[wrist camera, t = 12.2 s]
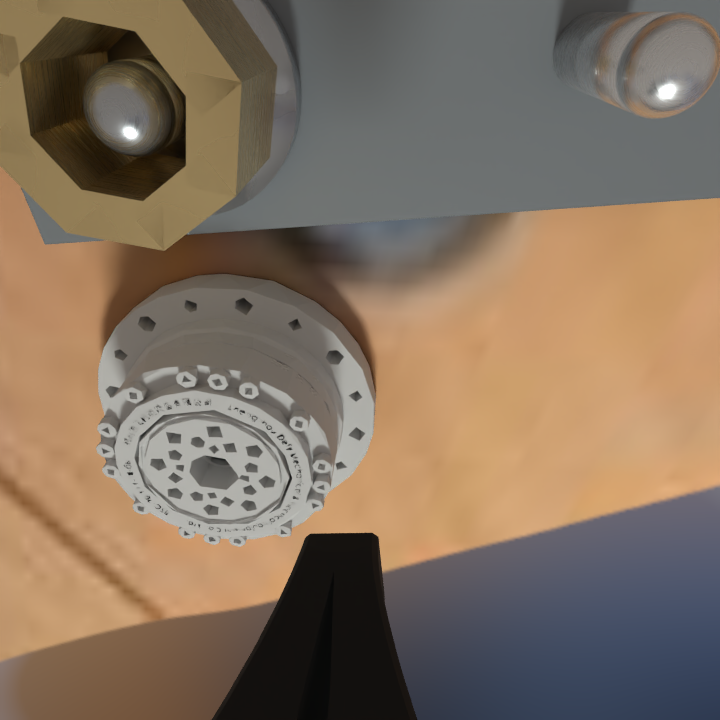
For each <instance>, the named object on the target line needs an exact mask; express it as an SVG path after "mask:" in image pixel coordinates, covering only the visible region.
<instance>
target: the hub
mask: <svg viewBox="0 0 720 720" xmlns="http://www.w3.org/2000/svg"><path fill="white" fill-rule="evenodd" d="M233 2H234V3H235V5H236V6H237V8H238V9H239V11H240V12H241V13H242V15H243V16H244V18H245V19H246V21H247V22H248V24H249V25H250V27H251V28H252V30H253V31H254V33H255V34H256V35H257V37H258V38H259V40H260V41H261V43H262V44H263V46H264V47H265V49H266V50H267V52H268V53H269V55H270V56H271V57H272V59H273V60H274V62H275V63H276V65H277V66H278V67H277V79H276V91H275V103H274V115H273V128H272V140H271V152H270V158H269V159H268V160H267V161H266V163H265V164H264V165H263V166H262V167H261V168H260V169H259V171H258V172H257V173H256V174H255V175H254V176H253V177H252V179H251V180H250V181H249V182H248V183H247V184H246V185H245V187H244V188H243V189H242V190H241V191H240V192H239V194H238V195H237V196H236V197H234V198H233V199H232V200H230V201H229V202H228V203H226V204H225V205H224V206H223V207H221V208H220V209H219V210H217V211H216V212H215V213H213V214H212V215H217V214H220V213H224V212H227V211H230V210H233V209H235V208H237V207H239V206H241V205H243V204H245V203H246V202H248V201H249V200H251V199H253V198H254V197H255V196H256V195H257V194H259V193H260V192H261V191H262V190H263V189H264V188H265V187H266V186H267V185H268V184H269V182H270V181H271V180H272V179H273V178H274V176H275V175H276V174H277V172H278V171H279V170H280V168H281V167H282V165H283V164H284V162H285V160H286V159H287V157H288V155H289V153H290V151H291V149H292V146H293V144H294V142H295V138H296V135H297V132H298V128H299V122H300V116H301V103H302V92H301V79H300V74H299V68H298V63H297V59H296V56H295V53H294V50H293V46H292V43H291V41H290V39H289V37H288V34H287V32H286V30H285V27H284V26H283V24H282V22H281V20H280V19H279V17H278V15H277V13H276V12H275V10H274V9H273V7H272V6H271V5H270V3H269V2H268V1H267V0H233ZM107 58H108V63H105V64H103V65H102V66H100V67H99V68H97V69H96V70H95V71H94V72H93V73H92V74H91V75H90V77H89V79H88V80H87V83H86V85H85V88H84V92H83V108H84V113H85V117H86V119H87V122H88V124H89V126H90V128H91V129H92V131H93V132H94V134H95V135H96V136H97V137H98V138H99V139H100V140H101V141H102V142H103V143H104V144H105V145H107V146H108V147H109V148H111V149H112V150H114V151H116V152H119V153H121V154H124V155H128V156H134V157H143V156H149V155H152V154H160V155H166V156H171V157H176V158H181V159H186V96H185V95H184V93H183V92H182V91H181V89H180V88H179V87H178V86H177V84H176V83H175V82H174V80H173V79H172V78H171V77H170V75H169V74H168V73H167V71H166V70H165V69H164V68H163V66H162V65H161V64H160V62H159V61H158V60H157V59H156V57H155V56H154V55H153V53H152V52H151V51H150V50H149V48H148V47H147V46H146V44H145V43H144V42H143V41H142V39H141V38H140V37H139V35H138V34H137V33H136V32H135V31H131V30H128V31H127V32H126V33H125V34H124V35H123V36H122V37H121V38H120V39H119V40H118V41H117V42H116V43H115V44H114V45H113V46H112V47H111V48H110V49H109V50H108V51H107Z"/></svg>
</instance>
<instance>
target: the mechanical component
mask: <svg viewBox="0 0 720 720" xmlns="http://www.w3.org/2000/svg"><path fill="white" fill-rule="evenodd" d="M98 388H99V396H100V400H101V403H102V407H103V410H104V414H105V416H104V418H103V419H102V420H101V422H100V423H99V425H98V431H99V433H100V434H101V442H100V443H99V445H98V446H97V447H96V449H97V453H98V454H100V455H101V456H102V457H105V459H106V464H105V465H104V467H103V468H102V470H103V473H104V474H105V475H106V476H108V477H110V478H113V479H115V480H116V481H117V482H118V483H119V484H120V486H121V487H122V488H123V489H124V490H125V492H126V493H127V494H128V495H129V496H130V497H131V498H132V499H133V500H134V501H135V502H134V504H133V509H134V511H135V512H137V513H140V514H148V513H149V512H150V513H151V514H153V515H155V516H157V517H158V518H160V519H162V520H164V521H166V522H167V523H169V524H172V525H175V526H178V527H179V534H180V535H181V536H182V537H184V538H188V539H189V538H193V537H194V535H195V533H197V534H202V535H204V540H205V542H207V543H210V544H213V545H215V544H217V543H219V542H220V539H229V541H230V543H231V544H232V545H235V546H238V547H240V546H242V545H245V543H246V540H247V539H257V538H261V537H266V536H270V535H275V534H277V535H279V536H280V537H286V536H291V531H292V528H293V527H295V526H297V525H299V524H301V523H303V522H304V521H305V520H306V519H308V518H309V517H310V516H311V515H312V514H313V513H314V512H315V511H320V510H321V509H322V508H323V507H324V499H325V497H326V495H327V494H328V492H330V491H331V490H332V489H334V488H335V487H336V486H337V485H339V484H340V483H341V482H343V481H344V480H345V479H347V478H348V477H349V476H351V475H352V473H353V472H354V470H355V469H356V467H357V466H358V465H359V463H360V462H361V460H362V459H363V457H364V456H365V454H366V453H367V450H368V447H369V444H370V441H371V438H372V435H373V430H374V416H375V401H376V393H375V389H374V384H373V380H372V375H371V371H370V366H369V364H368V362H367V360H366V358H365V356H364V354H363V352H362V350H361V348H360V346H359V344H358V343H357V341H356V340H355V339H354V338H353V337H352V335H351V334H350V333H349V332H348V330H347V329H346V328H345V327H344V326H343V324H342V323H341V322H340V321H339V320H338V319H336V318H335V317H334V316H333V315H331V314H330V313H329V312H328V311H326V310H325V309H324V308H323V307H321V306H320V305H319V304H318V303H316V302H315V301H313V300H311V299H309V298H307V297H305V296H303V295H301V294H299V293H297V292H295V291H293V290H291V289H289V288H287V287H285V286H283V285H281V284H279V283H277V282H275V281H271V280H264V279H258V278H251V277H244V276H238V275H231V274H213V275H198V276H194V277H191V278H188V279H184V280H181V281H178V282H175V283H171V284H168V285H165V286H162V287H161V288H160V289H158V290H157V291H156V292H154V293H153V294H152V295H150V296H149V297H148V298H146V299H145V300H144V301H142V302H141V303H140V304H138V305H137V306H136V307H134V308H133V309H132V310H131V311H130V312H129V313H128V314H127V316H126V317H125V318H124V319H123V320H122V321H121V322H120V323H119V324H118V325H117V326H116V327H115V329H114V331H113V333H112V334H111V336H110V338H109V340H108V342H107V343H106V345H105V347H104V349H103V353H102V357H101V361H100V365H99V369H98Z"/></svg>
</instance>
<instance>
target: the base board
mask: <svg viewBox="0 0 720 720" xmlns="http://www.w3.org/2000/svg"><path fill="white" fill-rule="evenodd" d="M267 1H268V2H269V3H270V5H271V6H272V7H273V9H274V10H275V12H276V13H277V15H278V17H279V19H280V20H281V22H282V24H283V26H284V27H285V30H286V32H287V34H288V37H289V39H290V41H291V43H292V46H293V50H294V53H295V56H296V59H297V63H298V68H299V74H300V79H301V92H302V103H301V116H300V122H299V128H298V132H297V135H296V138H295V142H294V144H293V146H292V149H291V151H290V153H289V155H288V157H287V159H286V160H285V162H284V164H283V165H282V167H281V168H280V170H279V171H278V172H277V174H276V175H275V176H274V178H273V179H272V180H271V181H270V182H269V184H268V185H267V186H266V187H265V188H264V189H263V190H262V191H261V192H260V193H259V194H257V195H256V196H255V197H254V198H253V199H251V200H249V201H248V202H246V203H245V204H243V205H241V206H239V207H237V208H235V209H233V210H230V211H227V212H224V213H220V214H217V215H211V216H209V217H208V218H207V219H206V220H204V221H203V222H202V223H200V224H199V225H198V226H196V227H195V228H194V229H192V230H191V231H190V232H188V233H187V234H186V235H189V234H204V233H218V232H233V231H247V230H261V229H276V228H290V227H305V226H319V225H334V224H348V223H362V222H377V221H391V220H406V219H420V218H435V217H449V216H464V215H478V214H492V213H507V212H521V211H536V210H550V209H565V208H579V207H594V206H608V205H622V204H637V203H651V202H666V201H680V200H695V199H709V198H720V68H719V71H718V74H717V76H716V79H715V80H714V82H713V84H712V86H711V87H710V89H709V90H708V91H707V92H706V94H705V95H704V96H703V97H702V98H701V99H700V100H699V101H698V102H697V103H695V104H694V105H693V106H692V107H690V108H689V109H687V110H685V111H683V112H681V113H679V114H677V115H674V116H671V117H667V118H661V119H649V118H644V117H640V116H637V115H635V114H633V113H630V112H628V111H626V110H623V109H621V108H618V107H616V106H614V105H611V104H609V103H607V102H604V101H602V100H600V99H597V98H595V97H593V96H590V95H588V94H586V93H583V92H581V91H579V90H576V89H574V88H572V87H569V86H567V85H566V84H564V83H563V82H562V81H561V80H560V79H559V78H558V76H557V75H556V73H555V70H554V66H553V50H554V46H555V43H556V41H557V39H558V37H559V35H560V33H561V32H562V30H563V29H564V28H565V27H566V26H567V25H568V24H569V23H570V22H571V21H572V20H573V19H575V18H577V17H578V16H580V15H582V14H586V13H590V12H688V13H693V14H696V15H699V16H701V17H703V18H704V19H706V20H707V21H708V22H709V23H710V24H711V25H712V26H713V27H714V28H715V30H716V32H717V33H718V36H719V38H720V0H267ZM21 188H22V187H21ZM22 191H23V193H24V196H25V198H26V200H27V203H28V205H29V208H30V210H31V212H32V215H33V217H34V219H35V222H36V224H37V227H38V229H39V231H40V234H41V236H42V239H43V241H44V243H45V244H59V243H74V242H88V241H103V239H97V238H92V237H87V236H81V235H76V234H71V233H66V232H65V231H64V230H63V229H62V228H61V227H60V226H59V225H58V224H57V223H56V222H55V221H54V220H53V219H52V218H51V217H50V216H49V215H48V214H47V213H46V212H45V211H44V210H43V209H42V208H41V207H40V206H39V205H38V204H37V203H36V202H35V201H34V199H33V198H32V197H31V196H30V195H29V194H28V193H27V192H26V191H25V190H24V189H23V188H22Z"/></svg>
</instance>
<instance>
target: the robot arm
mask: <svg viewBox="0 0 720 720" xmlns="http://www.w3.org/2000/svg"><path fill="white" fill-rule="evenodd" d="M384 600H385V599H384V586H383V577H382V567H381V558H380V548H379V539H378V537H377V536H376V535H375V534H373V533H331V534H309V535H308V536H307V537H306V538H305V540H304V543H303V546H302V548H301V551H300V553H299V556H298V558H297V561H296V563H295V566H294V568H293V570H292V573H291V575H290V577H289V579H288V582H287V584H286V586H285V588H284V590H283V592H282V594H281V596H280V599H279V601H278V603H277V605H276V607H275V609H274V611H273V613H272V615H271V616H270V619H269V620H268V622H267V624H266V626H265V628H264V630H263V632H262V634H261V636H260V638H259V640H258V642H257V644H256V645H255V647H254V649H253V651H252V653H251V654H250V656H249V658H248V660H247V661H246V663H245V665H244V667H243V669H242V670H241V672H240V674H239V675H238V677H237V679H236V680H235V682H234V684H233V686H232V687H231V689H230V691H229V693H228V694H227V696H226V698H225V699H224V701H223V702H222V704H221V706H220V707H219V709H218V710H217V712H216V714H215V715H214V717H213V719H212V720H417V717H416V714H415V711H414V708H413V706H412V702H411V699H410V696H409V692H408V690H407V686H406V683H405V679H404V676H403V673H402V670H401V666H400V663H399V659H398V656H397V652H396V649H395V644H394V641H393V636H392V632H391V628H390V624H389V621H388V616H387V611H386V607H385V601H384Z"/></svg>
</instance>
